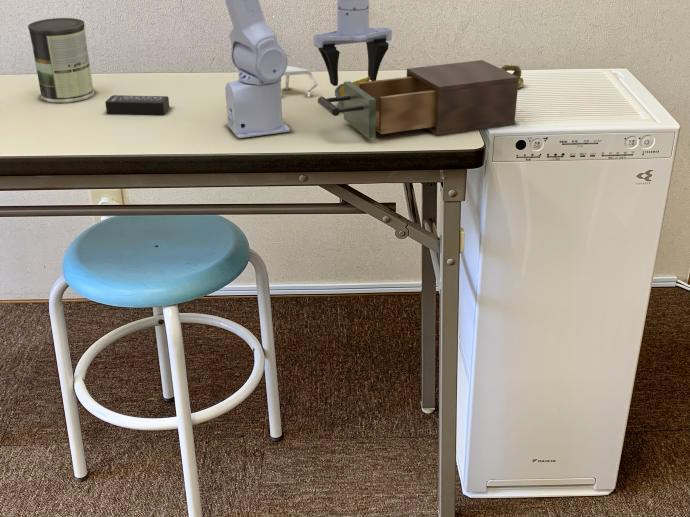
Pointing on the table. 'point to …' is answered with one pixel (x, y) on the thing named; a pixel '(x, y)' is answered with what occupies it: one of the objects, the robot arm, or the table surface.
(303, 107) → the table surface
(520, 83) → the seal
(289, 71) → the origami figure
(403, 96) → the drawer
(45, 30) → the coffee can
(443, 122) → the cabinet
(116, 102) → the multiport hub
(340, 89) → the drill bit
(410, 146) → the table surface
